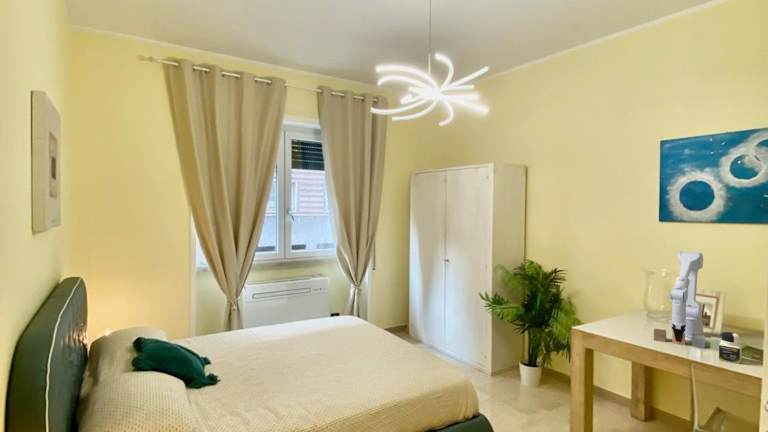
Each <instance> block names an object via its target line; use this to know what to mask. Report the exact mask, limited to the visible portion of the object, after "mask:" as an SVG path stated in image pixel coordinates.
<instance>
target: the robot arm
mask: <svg viewBox="0 0 768 432" xmlns="http://www.w3.org/2000/svg"><path fill="white" fill-rule="evenodd" d="M677 261H678V263H679V265H680V271H679V276H677V277H676V278H675V281H674V286H673V288H672V289H670V292H669V293H670V294H669V297H670V303H671V320H668V322H669V323H672V324H671V325H672V326H671V330H672V333H673V332H674V335H675V340H676V341H678V342H681V341H682V336H683V333H684V332H685V338H686V337H687V338H689V339H690V338H691V339H692V334H697V335H704V323H703V321H702V317H703V306H702V304H701V303H699V301H697V300H696V299H697V298H696V297H697V285H698V273H699V270H701V269H703V266H704V256H703V254H702V253H701V252H693V251H690V252H689V251H679V252H678V254H677Z"/></svg>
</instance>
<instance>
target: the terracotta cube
mask: <svg viewBox="0 0 768 432" xmlns="http://www.w3.org/2000/svg"><path fill="white" fill-rule="evenodd" d="M671 337H672V342H671V343H672V344H675V345H682V346H685V344H686V336H685V332H684V333H683V336H682V341H681V342H678V341H676V340H675V335H674V332H673V331H672V336H671Z"/></svg>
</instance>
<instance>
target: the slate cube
mask: <svg viewBox="0 0 768 432" xmlns="http://www.w3.org/2000/svg"><path fill="white" fill-rule="evenodd" d="M691 347H695V348H699V349H700V348H701V349H705V348H706V336H705V335H704V334H703V335H697V334H692V338H691Z"/></svg>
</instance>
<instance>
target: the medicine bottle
mask: <svg viewBox="0 0 768 432" xmlns="http://www.w3.org/2000/svg"><path fill="white" fill-rule="evenodd" d="M721 338H722V341H721V342H720V344H719V351H718V360H719V361H723V362H729V363H732V364H738V365H740V364H741V361H742V360H743V359H742V357H743V356H742V354H743V353H742V349H743V348H742V345H743V344H742V343H740V335H739V334H737V333H735V332H730V331H723V332H722V333H721Z"/></svg>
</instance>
